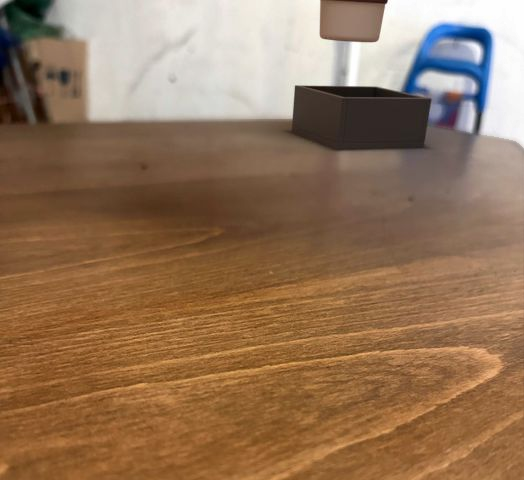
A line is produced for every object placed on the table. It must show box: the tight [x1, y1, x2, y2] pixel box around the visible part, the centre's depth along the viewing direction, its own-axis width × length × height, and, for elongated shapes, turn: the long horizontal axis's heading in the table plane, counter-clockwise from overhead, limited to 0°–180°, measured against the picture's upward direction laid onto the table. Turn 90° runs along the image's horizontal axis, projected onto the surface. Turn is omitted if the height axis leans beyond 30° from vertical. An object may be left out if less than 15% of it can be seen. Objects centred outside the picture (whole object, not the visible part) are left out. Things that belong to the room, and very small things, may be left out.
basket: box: [291, 84, 432, 151], centre depth 93 cm, size 14×14×6 cm
